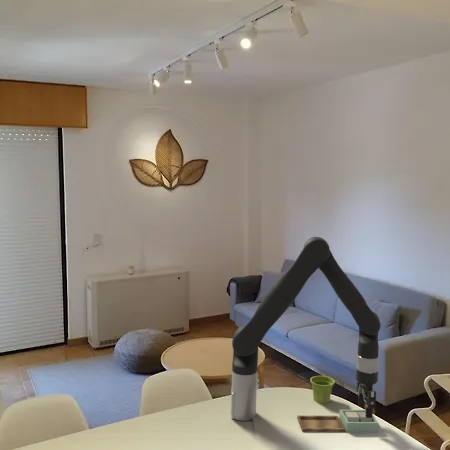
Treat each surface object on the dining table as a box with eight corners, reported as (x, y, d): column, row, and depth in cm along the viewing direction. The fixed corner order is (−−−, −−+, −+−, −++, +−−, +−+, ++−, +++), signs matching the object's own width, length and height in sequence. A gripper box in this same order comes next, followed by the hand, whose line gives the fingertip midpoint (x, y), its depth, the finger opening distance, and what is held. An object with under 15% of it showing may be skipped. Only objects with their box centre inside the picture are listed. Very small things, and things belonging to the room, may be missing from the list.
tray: (302, 433, 178) (302, 429, 178) (297, 419, 188) (297, 415, 188) (344, 433, 179) (344, 429, 179) (337, 419, 189) (337, 415, 189)
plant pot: (335, 407, 199) (336, 385, 198) (311, 406, 199) (312, 385, 198) (331, 396, 208) (332, 376, 207) (307, 396, 208) (308, 375, 207)
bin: (346, 433, 178) (347, 422, 178) (339, 420, 188) (339, 409, 188) (377, 433, 179) (378, 422, 178) (368, 420, 189) (369, 409, 188)
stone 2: (360, 428, 181) (361, 417, 181) (356, 422, 185) (357, 412, 185) (371, 427, 182) (372, 417, 181) (367, 422, 186) (368, 411, 185)
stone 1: (347, 427, 181) (348, 417, 181) (344, 422, 185) (345, 411, 185) (358, 428, 181) (359, 417, 181) (355, 422, 185) (356, 412, 185)
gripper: (351, 360, 188) (349, 402, 190) (362, 375, 174) (360, 421, 176) (371, 360, 189) (369, 403, 190) (384, 376, 175) (382, 421, 176)
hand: (365, 411), depth 183 cm, fingers open, 8 cm apart
